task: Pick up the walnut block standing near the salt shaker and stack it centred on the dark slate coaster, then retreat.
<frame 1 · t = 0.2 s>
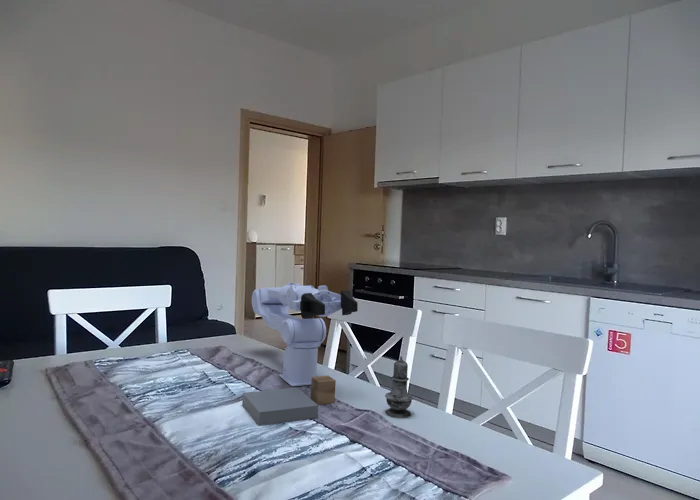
hand: (340, 308, 103), 21 cm above the table, tool horizontal, fingers open, 7 cm apart
walnut block: (322, 401, 106), on the table
slate coaster: (279, 411, 99), on the table
salt shaker: (398, 414, 101), on the table
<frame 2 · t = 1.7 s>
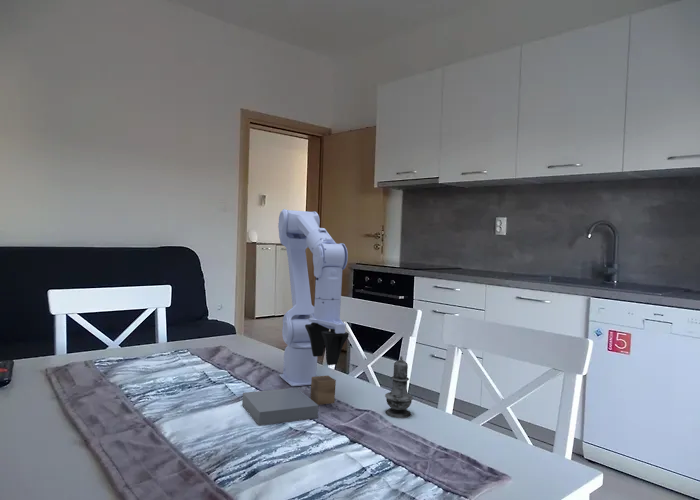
hand: (324, 360, 106), 9 cm above the table, tool pointing down, fingers open, 7 cm apart
nothing on the table moved.
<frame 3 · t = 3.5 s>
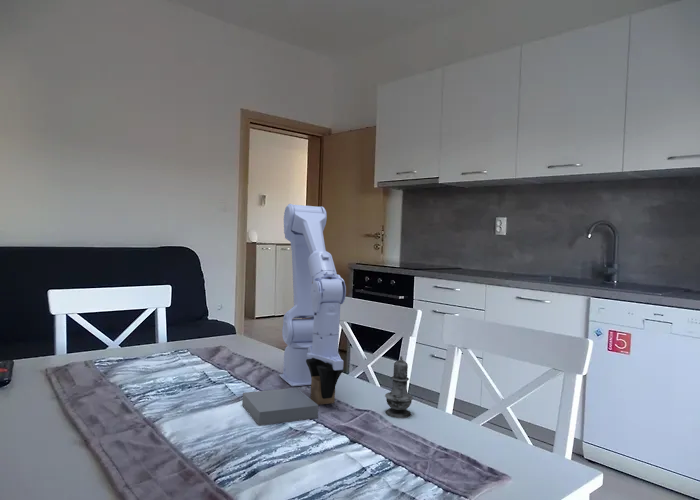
hand: (322, 394, 106), 1 cm above the table, tool pointing down, fingers closed on walnut block, 4 cm apart
walnut block: (322, 400, 106), on the table, touching gripper
everything else where it was.
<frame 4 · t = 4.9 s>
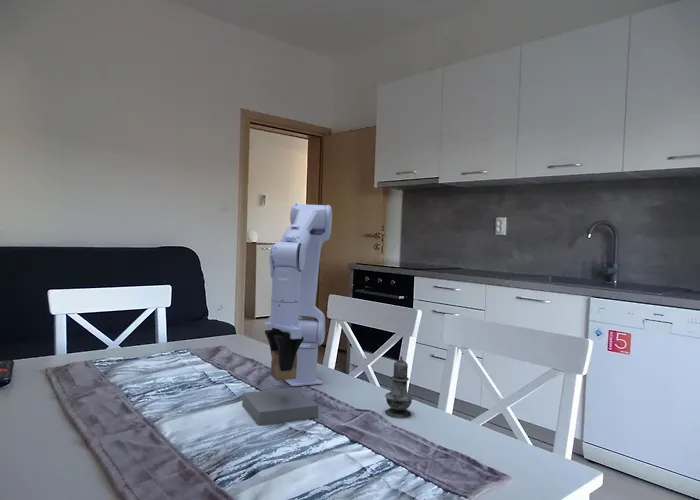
hand: (282, 367, 99), 9 cm above the table, tool pointing down, fingers closed on walnut block, 4 cm apart
walnut block: (283, 376, 99), point 7 cm above the table, touching gripper
everything else where it was.
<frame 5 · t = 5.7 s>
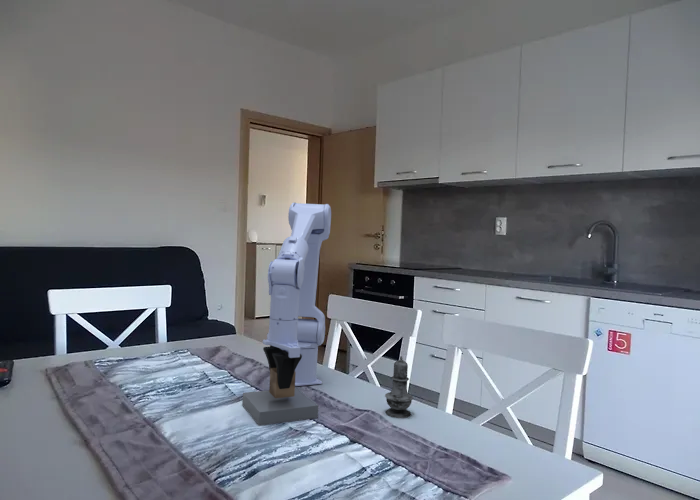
hand: (280, 384, 99), 5 cm above the table, tool pointing down, fingers closed on walnut block, 4 cm apart
walnut block: (281, 394, 99), point 3 cm above the table, touching gripper
everything else where it was.
when the fingers open (5 cm above the table, at t = 6.4 s): walnut block stays where it is, resting on slate coaster.
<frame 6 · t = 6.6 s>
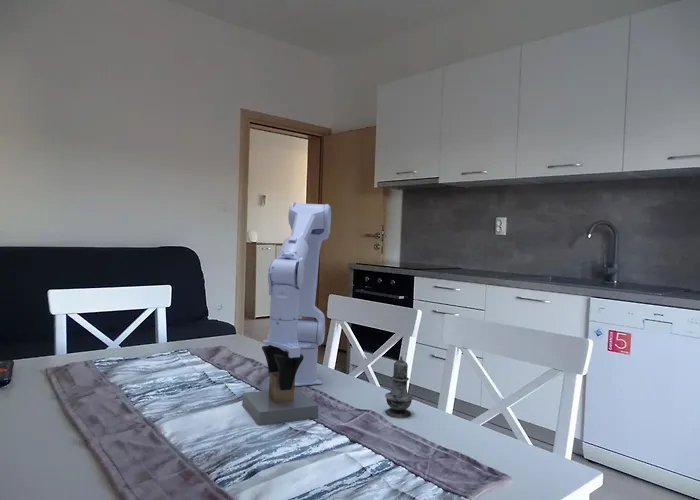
hand: (280, 384, 99), 5 cm above the table, tool pointing down, fingers open, 6 cm apart
walnut block: (281, 398, 99), point 2 cm above the table, touching slate coaster
everything else where it was.
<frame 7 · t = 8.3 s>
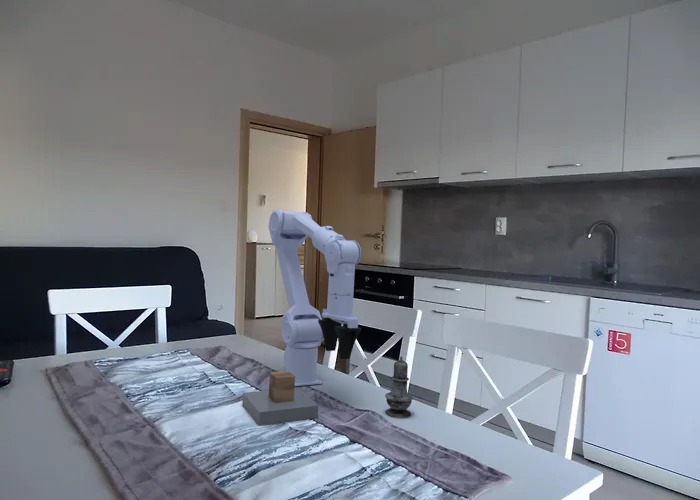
hand: (337, 354, 108), 10 cm above the table, tool pointing down, fingers open, 7 cm apart
nothing on the table moved.
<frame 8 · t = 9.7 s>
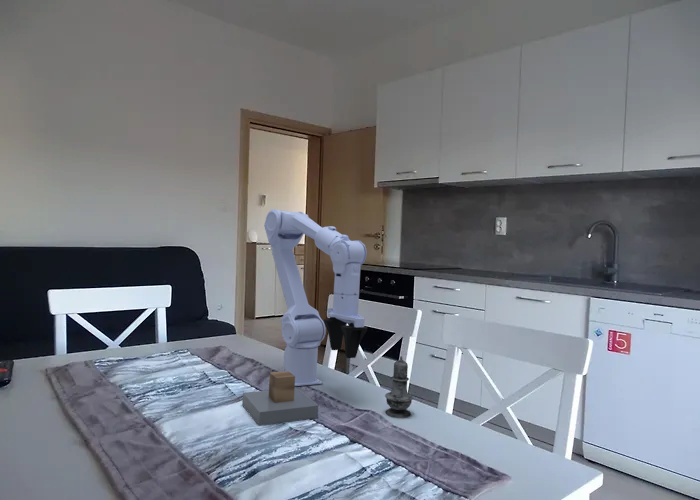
hand: (343, 353, 109), 10 cm above the table, tool pointing down, fingers open, 7 cm apart
nothing on the table moved.
at the end: walnut block inside the target area on the slate coaster (0.3 cm from its centre), point 2.5 cm above the slate coaster's base; walnut block tilted 0°; the gripper is holding nothing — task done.
